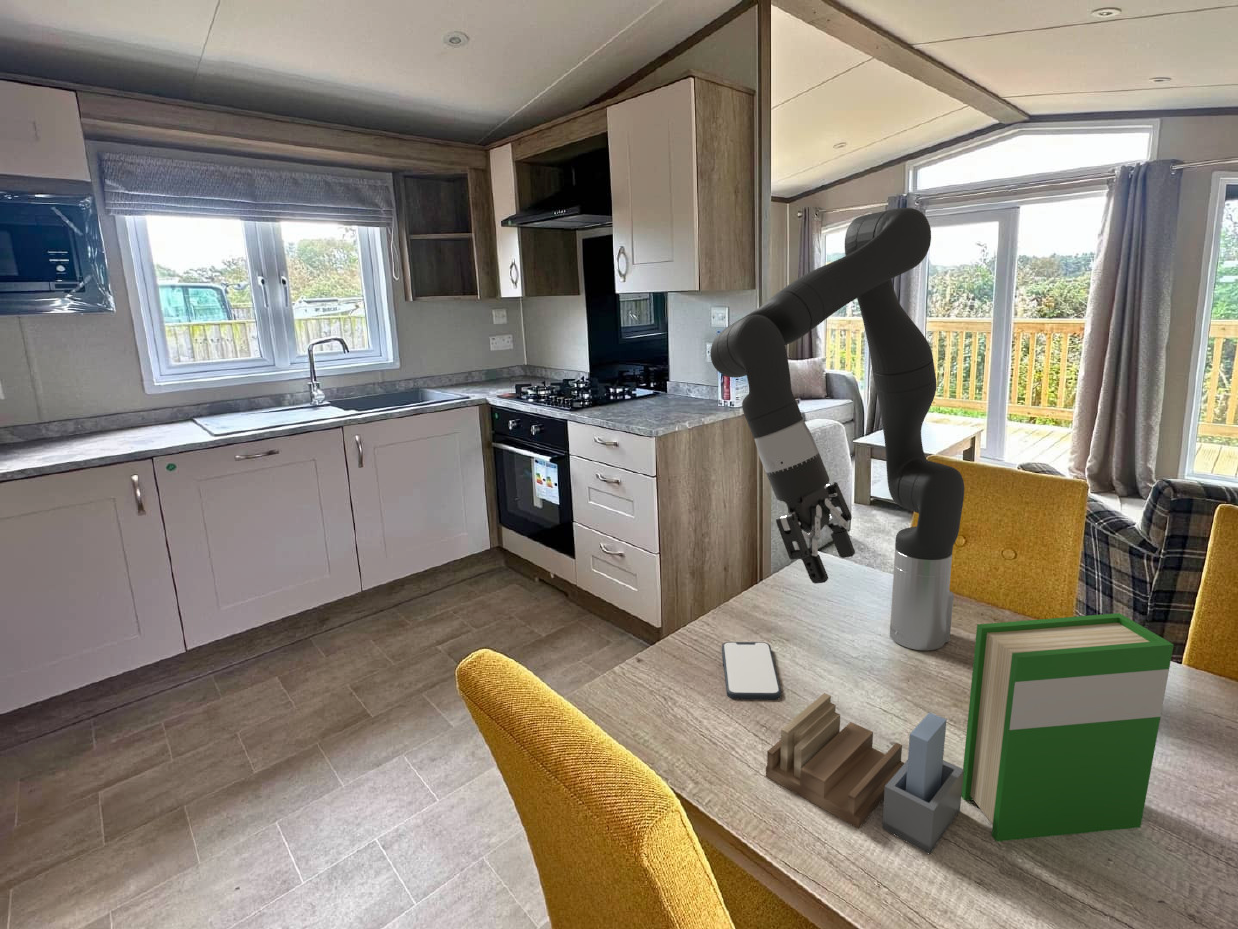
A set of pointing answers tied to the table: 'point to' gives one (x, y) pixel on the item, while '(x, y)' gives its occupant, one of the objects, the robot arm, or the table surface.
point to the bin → (922, 808)
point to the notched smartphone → (750, 671)
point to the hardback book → (1063, 724)
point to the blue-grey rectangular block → (926, 757)
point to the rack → (842, 774)
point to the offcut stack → (808, 734)
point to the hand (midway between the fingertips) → (835, 568)
